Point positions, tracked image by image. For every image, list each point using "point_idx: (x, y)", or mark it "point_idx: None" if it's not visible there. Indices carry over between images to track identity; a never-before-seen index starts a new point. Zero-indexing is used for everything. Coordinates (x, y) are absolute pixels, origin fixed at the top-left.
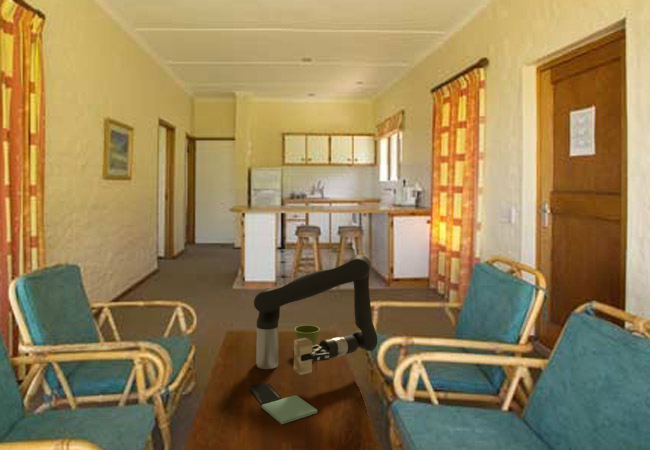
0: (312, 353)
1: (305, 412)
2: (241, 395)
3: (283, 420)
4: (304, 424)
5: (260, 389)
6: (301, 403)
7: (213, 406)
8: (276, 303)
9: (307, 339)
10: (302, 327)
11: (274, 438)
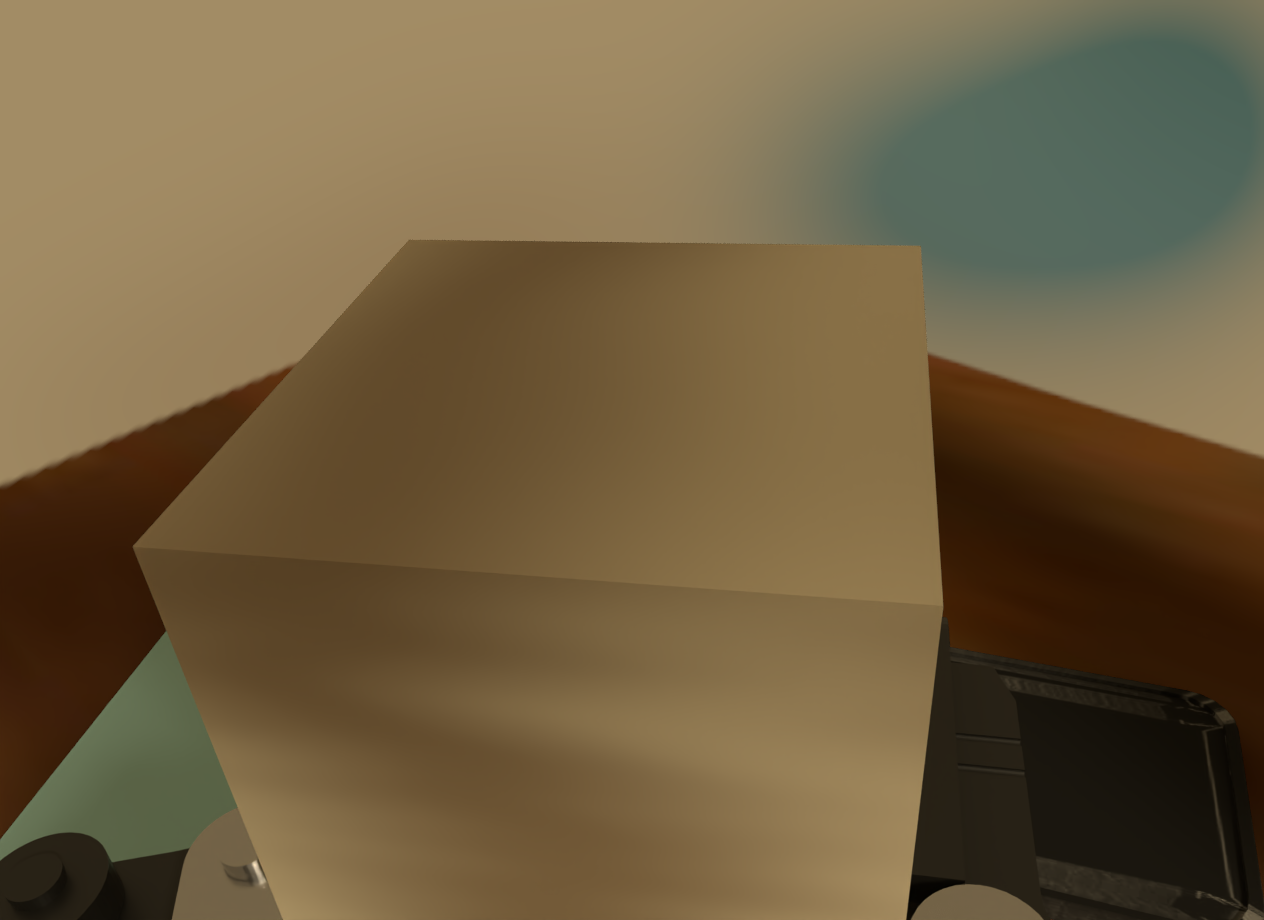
0: (215, 863)
1: (102, 747)
2: (1046, 589)
3: None
4: (39, 666)
5: (1061, 755)
6: None
7: (949, 399)
8: None
9: (573, 530)
10: None
11: (186, 451)
